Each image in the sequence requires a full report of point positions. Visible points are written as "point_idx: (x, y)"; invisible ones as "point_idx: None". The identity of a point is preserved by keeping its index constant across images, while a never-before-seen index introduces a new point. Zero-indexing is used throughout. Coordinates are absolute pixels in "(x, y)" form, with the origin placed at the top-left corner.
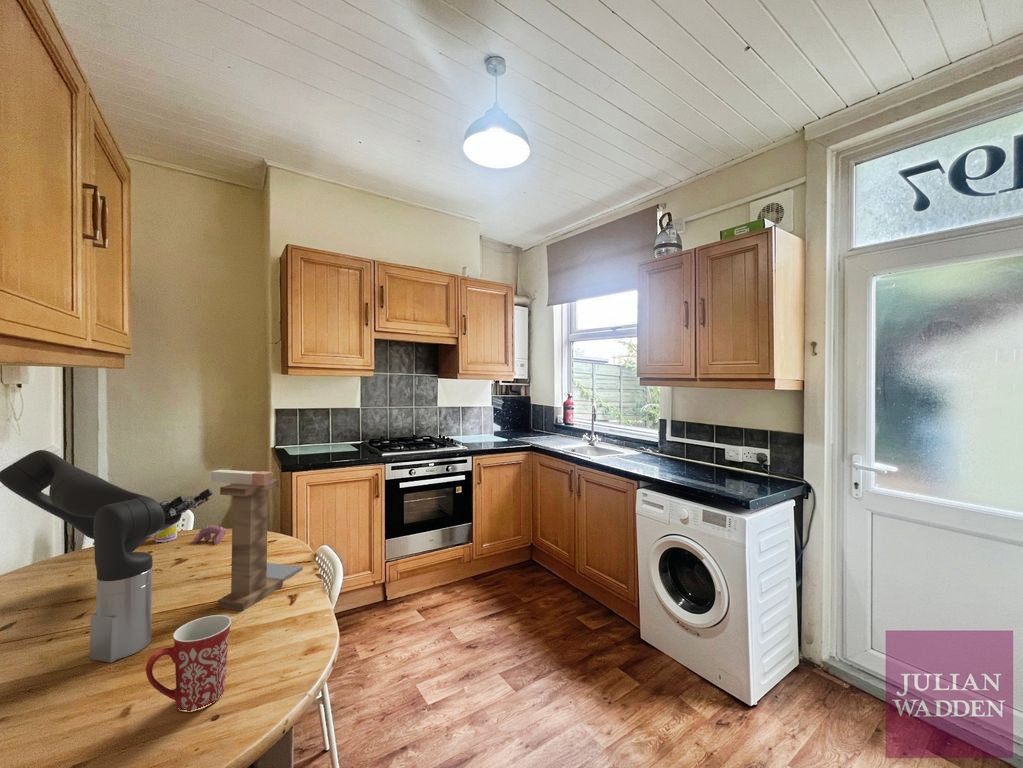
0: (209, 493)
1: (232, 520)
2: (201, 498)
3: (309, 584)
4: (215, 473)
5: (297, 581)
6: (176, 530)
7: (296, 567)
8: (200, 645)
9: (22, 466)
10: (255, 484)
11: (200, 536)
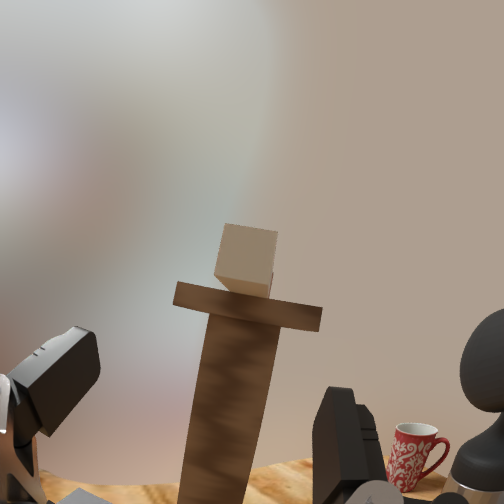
0: (95, 366)
1: (262, 415)
2: (42, 424)
3: (153, 489)
4: (275, 246)
5: (137, 501)
6: None
7: (80, 494)
8: (421, 429)
9: None
10: None
11: None
